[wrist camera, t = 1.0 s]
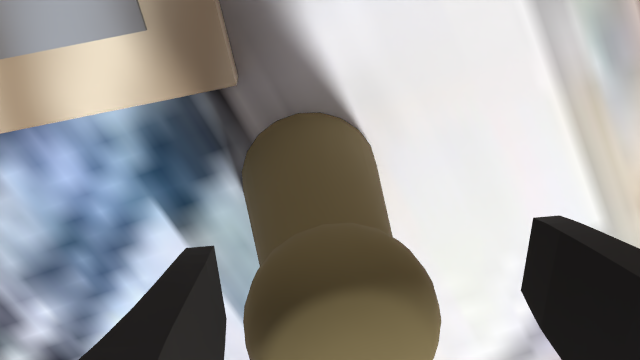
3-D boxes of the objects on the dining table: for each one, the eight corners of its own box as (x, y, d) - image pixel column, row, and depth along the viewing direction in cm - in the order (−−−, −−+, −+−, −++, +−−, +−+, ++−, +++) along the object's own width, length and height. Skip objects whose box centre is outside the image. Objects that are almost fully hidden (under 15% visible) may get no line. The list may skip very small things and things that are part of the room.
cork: (226, 127, 20) (189, 294, 10) (368, 99, 20) (473, 236, 10) (258, 247, 22) (254, 476, 12) (383, 222, 22) (479, 427, 12)
